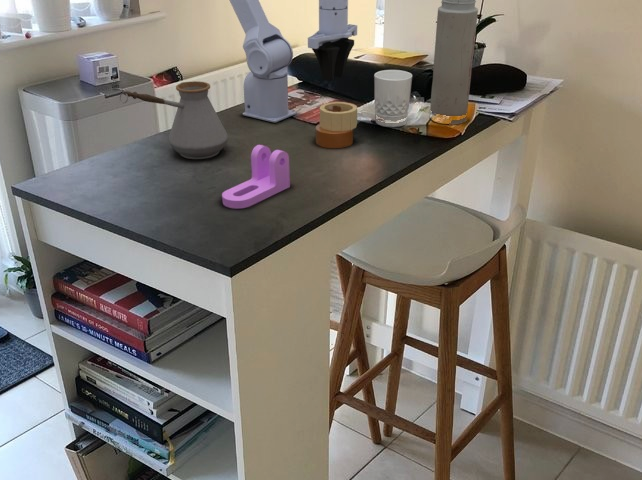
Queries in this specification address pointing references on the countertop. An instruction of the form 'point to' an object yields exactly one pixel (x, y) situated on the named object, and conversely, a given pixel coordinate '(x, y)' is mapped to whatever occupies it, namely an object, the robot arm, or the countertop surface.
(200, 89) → the coffee pot
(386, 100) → the white cup
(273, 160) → the bracket
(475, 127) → the countertop surface
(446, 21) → the thermos bottle
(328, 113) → the ring
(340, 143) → the wooden peg base
